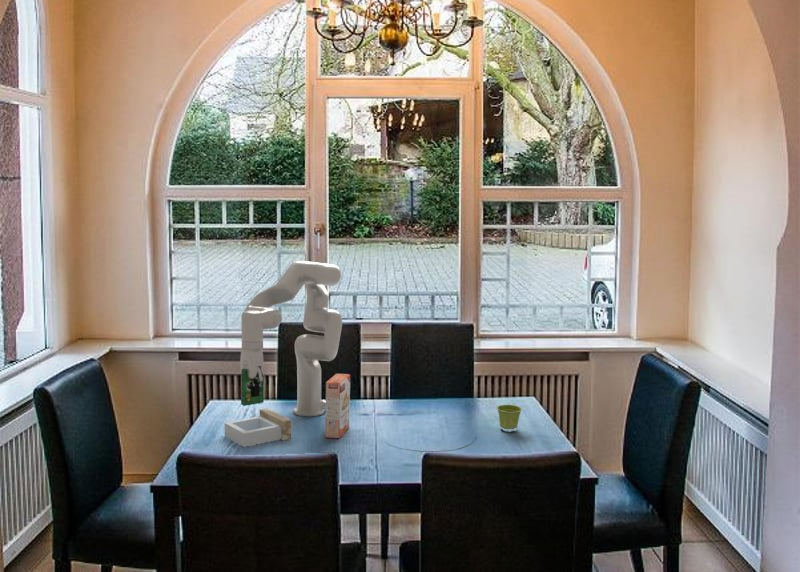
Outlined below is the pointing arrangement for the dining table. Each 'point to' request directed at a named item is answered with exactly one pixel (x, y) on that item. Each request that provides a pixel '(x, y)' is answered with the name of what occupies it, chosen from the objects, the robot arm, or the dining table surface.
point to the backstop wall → (278, 422)
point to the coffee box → (246, 390)
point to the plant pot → (509, 416)
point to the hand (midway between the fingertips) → (252, 394)
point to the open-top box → (253, 431)
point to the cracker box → (337, 405)
